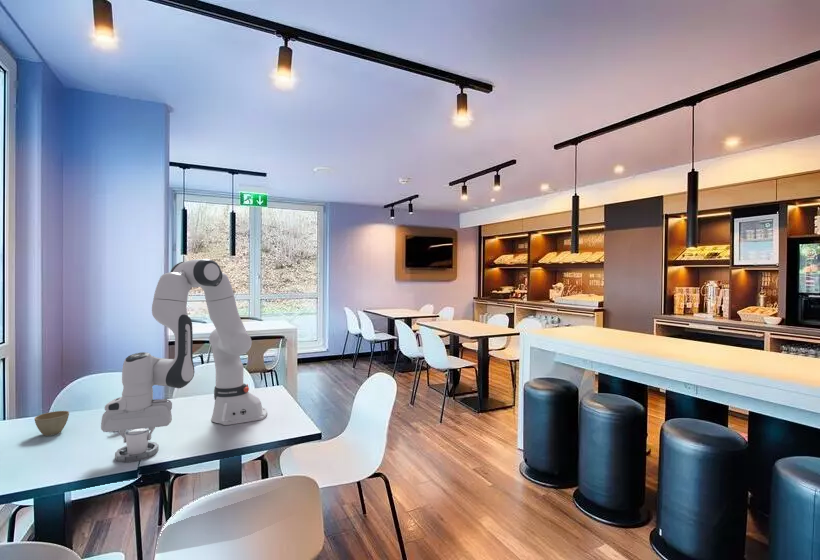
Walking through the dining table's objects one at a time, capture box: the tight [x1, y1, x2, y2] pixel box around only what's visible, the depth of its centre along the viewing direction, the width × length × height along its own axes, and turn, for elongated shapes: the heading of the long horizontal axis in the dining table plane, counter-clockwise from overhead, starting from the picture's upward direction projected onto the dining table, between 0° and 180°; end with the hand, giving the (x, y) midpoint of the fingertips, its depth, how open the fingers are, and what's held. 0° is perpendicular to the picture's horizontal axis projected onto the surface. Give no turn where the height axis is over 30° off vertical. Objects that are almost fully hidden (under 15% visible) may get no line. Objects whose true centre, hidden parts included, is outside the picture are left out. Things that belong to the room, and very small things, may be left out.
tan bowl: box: [34, 410, 70, 437], centre depth 153 cm, size 10×10×7 cm
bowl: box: [114, 441, 160, 463], centre depth 137 cm, size 12×12×2 cm
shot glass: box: [125, 428, 150, 455], centre depth 137 cm, size 7×7×7 cm
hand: (137, 440), depth 137 cm, fingers closed on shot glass, 5 cm apart
